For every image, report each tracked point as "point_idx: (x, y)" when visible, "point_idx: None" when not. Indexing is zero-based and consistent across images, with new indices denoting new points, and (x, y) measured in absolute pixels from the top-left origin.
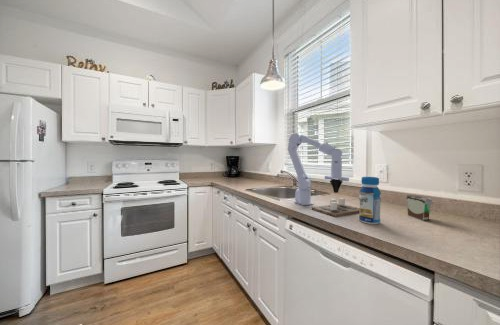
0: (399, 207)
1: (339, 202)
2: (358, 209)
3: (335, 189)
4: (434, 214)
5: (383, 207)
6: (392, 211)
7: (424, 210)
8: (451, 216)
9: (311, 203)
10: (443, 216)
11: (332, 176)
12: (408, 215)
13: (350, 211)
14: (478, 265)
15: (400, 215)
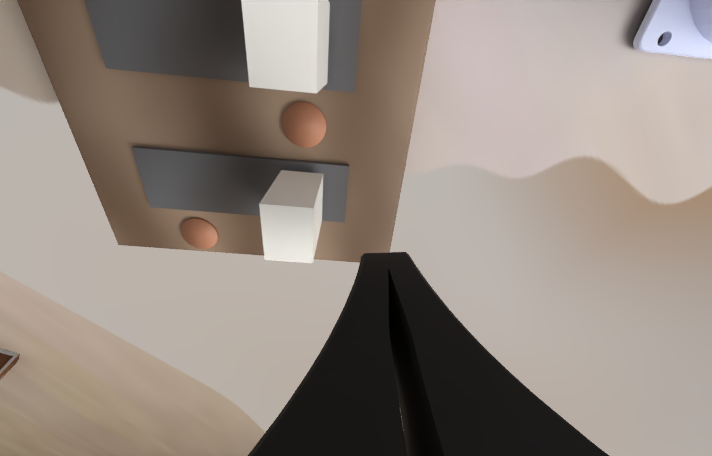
0: (191, 438)
1: (306, 183)
2: (131, 203)
3: (365, 289)
4: (40, 432)
5: (214, 399)
6: (117, 366)
7: None
8: (5, 443)
9: (668, 4)
10: (3, 429)
11: None
12: (11, 353)
13: (48, 37)
14: None
15: (16, 327)
